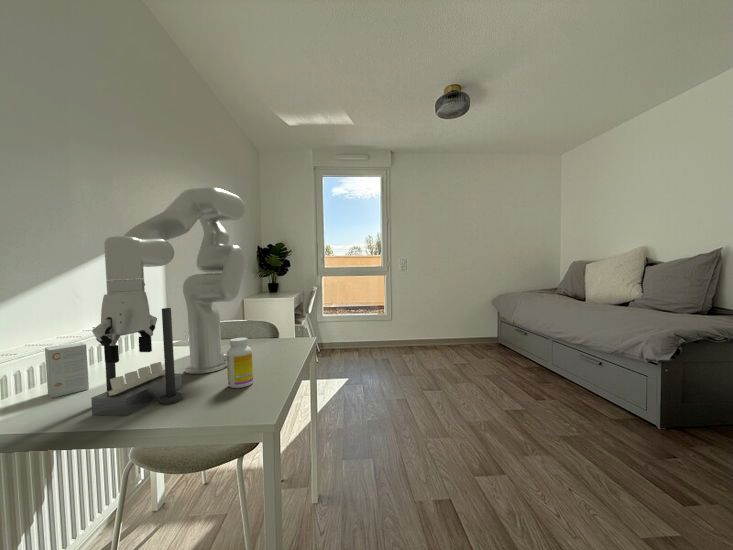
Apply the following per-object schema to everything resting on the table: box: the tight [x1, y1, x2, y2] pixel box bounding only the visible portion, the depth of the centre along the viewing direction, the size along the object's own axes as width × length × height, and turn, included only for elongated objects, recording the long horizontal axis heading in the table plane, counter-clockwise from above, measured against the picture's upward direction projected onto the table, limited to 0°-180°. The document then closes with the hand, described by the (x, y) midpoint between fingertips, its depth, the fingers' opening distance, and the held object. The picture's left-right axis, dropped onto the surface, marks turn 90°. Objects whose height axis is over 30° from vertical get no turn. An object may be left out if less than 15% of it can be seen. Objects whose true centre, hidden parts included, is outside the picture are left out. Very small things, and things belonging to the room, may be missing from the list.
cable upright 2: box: [159, 307, 184, 406], centre depth 84 cm, size 5×5×23 cm
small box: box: [44, 341, 90, 399], centre depth 94 cm, size 8×6×13 cm
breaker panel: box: [90, 373, 183, 417], centre depth 85 cm, size 18×9×4 cm, turn 171°
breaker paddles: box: [109, 361, 165, 396], centre depth 85 cm, size 16×2×4 cm, turn 171°
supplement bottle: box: [226, 337, 254, 389], centre depth 94 cm, size 7×7×13 cm
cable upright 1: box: [104, 337, 117, 392], centre depth 87 cm, size 5×5×23 cm
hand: (129, 356), depth 83 cm, fingers open, 9 cm apart
